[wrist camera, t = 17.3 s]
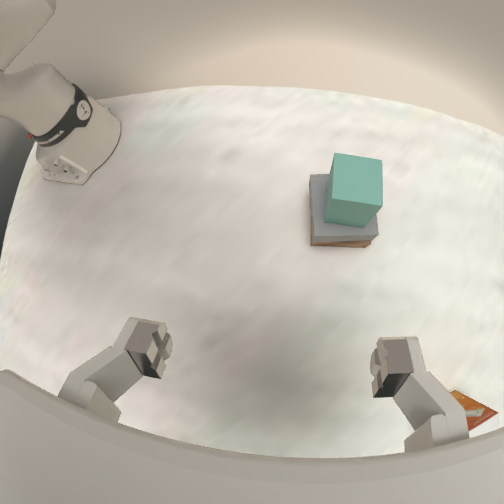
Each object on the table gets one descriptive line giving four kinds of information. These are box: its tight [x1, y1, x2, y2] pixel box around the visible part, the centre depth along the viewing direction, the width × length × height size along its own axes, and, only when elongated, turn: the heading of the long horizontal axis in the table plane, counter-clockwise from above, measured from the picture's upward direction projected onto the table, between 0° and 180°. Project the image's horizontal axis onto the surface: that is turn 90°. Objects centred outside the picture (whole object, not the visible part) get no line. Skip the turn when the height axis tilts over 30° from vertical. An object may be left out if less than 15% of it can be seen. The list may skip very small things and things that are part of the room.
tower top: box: [309, 174, 379, 242], centre depth 35 cm, size 8×8×4 cm
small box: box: [450, 390, 499, 438], centre depth 26 cm, size 8×6×13 cm
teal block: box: [324, 153, 383, 228], centre depth 30 cm, size 5×5×8 cm
